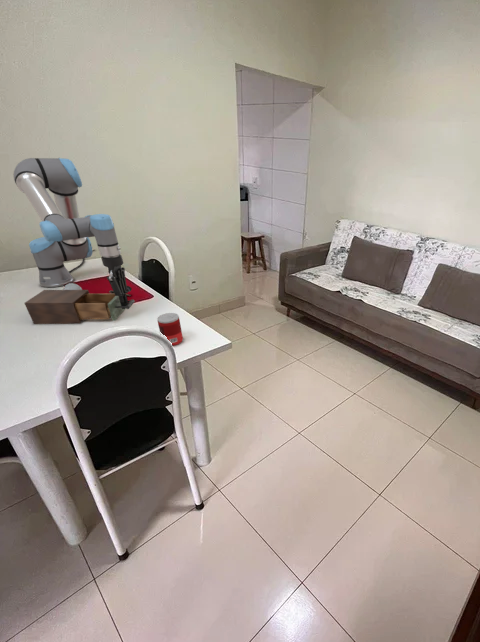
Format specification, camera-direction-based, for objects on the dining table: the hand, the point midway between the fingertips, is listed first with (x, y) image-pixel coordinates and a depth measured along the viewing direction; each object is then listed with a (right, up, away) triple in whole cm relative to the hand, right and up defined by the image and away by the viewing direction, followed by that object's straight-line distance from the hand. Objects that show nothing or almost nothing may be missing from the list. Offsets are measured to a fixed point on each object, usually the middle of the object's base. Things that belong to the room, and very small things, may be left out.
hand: (125, 307), depth 146 cm
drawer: (-9, -3, +1) cm, 9 cm away
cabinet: (-27, -4, 0) cm, 27 cm away
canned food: (+27, -16, -15) cm, 35 cm away
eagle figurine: (-12, +7, +18) cm, 23 cm away
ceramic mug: (-32, +6, +15) cm, 35 cm away
